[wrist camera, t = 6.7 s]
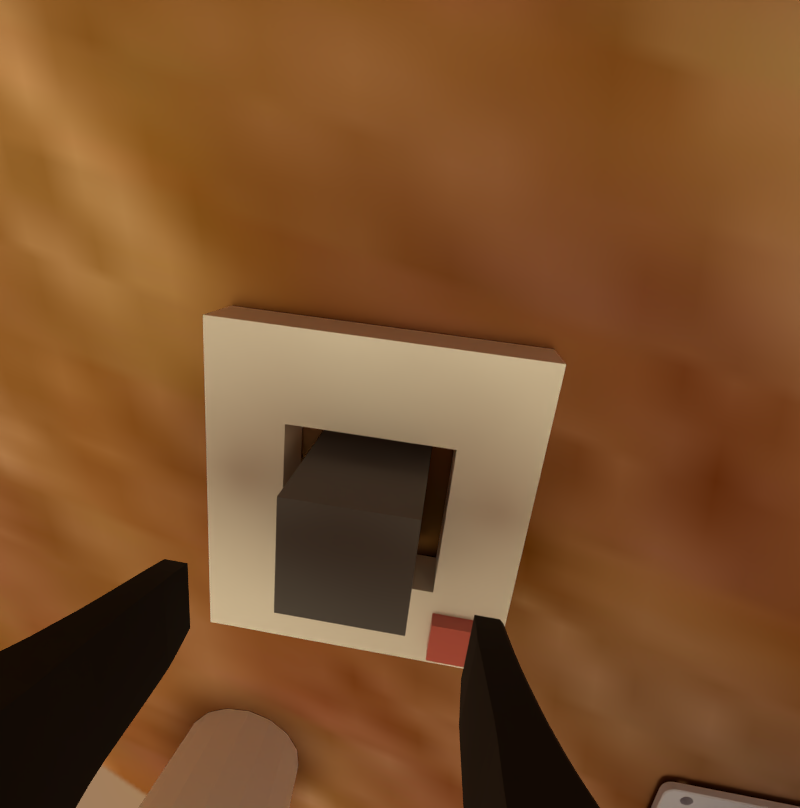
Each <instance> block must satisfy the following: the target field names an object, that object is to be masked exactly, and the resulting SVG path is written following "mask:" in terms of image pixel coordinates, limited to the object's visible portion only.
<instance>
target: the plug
mask: <svg viewBox="0 0 800 808" xmlns="http://www.w3.org/2000/svg"><path fill="white" fill-rule="evenodd" d="M431 451H432V446H427V445H421V444H414V443H408V442H401V441H394V440H388V439H381V438H375V437H368V436H362V435H355V434H348V433H342V432H335V431H329V430H324V431H323V432H322V434H321V435H320V437H319V438H318V439H317V441H316V442H315V444H314V445H313V446H312V448H311V449H310V451H309V452H308V453H307V455H306V456H305V458H304V459H303V461H302V462H301V463H300V465H299V466H298V468H297V469H296V470H295V472H294V473H293V475H292V476H291V478H290V479H289V480H288V482H287V483H286V485H285V486H284V487H283V489H282V490H281V492H280V493H279V494H278V496H277V509H276V549H275V588H274V613H279V614H284V615H290V616H296V617H301V618H307V619H312V620H318V621H323V622H329V623H335V624H340V625H346V626H351V627H357V628H362V629H368V630H374V631H379V632H385V633H390V634H396V635H402V636H405V633H406V626H407V619H408V612H409V605H410V598H411V591H412V584H413V577H414V570H415V563H416V556H417V549H418V542H419V535H420V528H421V521H422V514H423V507H424V500H425V493H426V486H427V479H428V472H429V465H430V458H431Z"/></svg>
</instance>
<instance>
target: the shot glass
mask: <svg viewBox="0 0 800 808" xmlns="http://www.w3.org/2000/svg"><path fill="white" fill-rule="evenodd" d="M297 770H298V756H297V749H296V748H295V746H294V744H293V743H292V741H291V739H290V738H289V736H288V734H287V733H285V732H284V731H283V730H282V729H281V728H279V727H278V726H277V725H276V724H274V723H273V722H272V721H271V720H269V719H266V718H264V717H262V716H259V715H257V714H255V713H252V712H250V711H243V710H235V709H223V710H218V711H213V712H208V713H207V714H206V715H204V716H203V717H202V718H200V719H199V720H197V721H196V722H195V723H194V725H193V726H192V728H191V729H190V731H189V732H188V734H187V735H186V737H185V738H184V740H183V741H182V743H181V744H180V746H179V747H178V749H177V750H176V752H175V753H174V755H173V756H172V758H171V759H170V761H169V762H168V764H167V765H166V767H165V768H164V770H163V772H162V773H161V775H160V776H159V778H158V779H157V781H156V782H155V784H154V785H153V787H152V788H151V790H150V791H149V793H148V794H147V796H146V797H145V799H144V800H143V802H142V803H141V805H140V806H139V808H289V806H290V802H291V797H292V793H293V788H294V783H295V779H296V774H297Z"/></svg>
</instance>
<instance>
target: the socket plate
mask: <svg viewBox="0 0 800 808" xmlns="http://www.w3.org/2000/svg"><path fill="white" fill-rule="evenodd" d="M203 340H204V380H205V419H206V458H207V498H208V537H209V577H210V616H211V622H214V623H220V624H225V625H231V626H236V627H241V628H247V629H252V630H258V631H263V632H268V633H274V634H279V635H285V636H290V637H295V638H301V639H306V640H312V641H317V642H322V643H328V644H333V645H339V646H344V647H349V648H355V649H360V650H366V651H371V652H376V653H382V654H387V655H393V656H398V657H403V658H409V659H414V660H419V661H425V662H430V663H436V664H441V665H446V666H452V667H457V668H464V663H465V658H466V653H467V649H468V644H469V639H470V634H471V629H472V624H473V619H474V615H479V616H484V617H490V618H496V619H500V620H501V621H502V623H503V624H504V626H505V623H506V619H507V615H508V611H509V606H510V602H511V598H512V594H513V589H514V585H515V581H516V577H517V572H518V568H519V564H520V560H521V555H522V551H523V547H524V543H525V538H526V534H527V530H528V525H529V521H530V517H531V513H532V508H533V504H534V500H535V496H536V491H537V487H538V483H539V479H540V474H541V470H542V466H543V462H544V457H545V453H546V449H547V445H548V440H549V436H550V432H551V427H552V423H553V419H554V415H555V410H556V406H557V402H558V398H559V393H560V389H561V385H562V381H563V376H564V372H565V368H566V363H565V362H564V361H563V360H562V358H561V357H560V356H559V354H558V353H557V352H556V351H555V349H550V348H543V347H535V346H528V345H520V344H513V343H505V342H498V341H491V340H483V339H476V338H468V337H461V336H453V335H446V334H439V333H431V332H424V331H416V330H409V329H401V328H394V327H387V326H379V325H372V324H364V323H357V322H349V321H342V320H334V319H327V318H320V317H312V316H305V315H297V314H290V313H282V312H275V311H268V310H260V309H253V308H245V307H238V306H229V307H226V308H223V309H219V310H216V311H213V312H210V313H207V314H204V315H203ZM303 427H309V428H316V429H322V430H329V431H335V432H342V433H348V434H355V435H362V436H368V437H375V438H381V439H388V440H394V441H401V442H408V443H414V444H421V445H427V446H434V447H440V448H447V449H454V451H453V457H452V463H451V469H450V475H449V481H448V487H447V494H446V500H445V506H444V512H443V518H442V524H441V530H440V536H439V542H438V549H437V555H436V558H435V557H429V556H423V555H418V554H417V556H416V563H415V570H414V577H413V584H412V591H411V598H410V605H409V612H408V619H407V626H406V633H405V636H402V635H396V634H390V633H385V632H379V631H374V630H368V629H362V628H357V627H351V626H346V625H340V624H335V623H329V622H323V621H318V620H312V619H307V618H301V617H296V616H290V615H284V614H279V613H274V588H275V549H276V509H277V496H278V494H279V493H280V492H281V490H282V489H283V487H284V486H285V485H286V483H287V482H288V480H289V479H290V478H291V476H292V475H293V473H294V472H295V470H296V469H297V468H298V466H299V465H300V463H301V450H302V428H303Z"/></svg>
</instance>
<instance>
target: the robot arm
mask: <svg viewBox="0 0 800 808" xmlns="http://www.w3.org/2000/svg"><path fill="white" fill-rule="evenodd" d="M189 629H190V613H189V589H188V566H187V563H183V562H177V561H171V560H166V559H164V560H162V561H160V562H159V563H157V564H155V565H153V566H152V567H150V568H148V569H147V570H145V571H143V572H142V573H140V574H138V575H137V576H135V577H133V578H132V579H130V580H128V581H127V582H125V583H123V584H122V585H120V586H118V587H117V588H115V589H113V590H112V591H110V592H108V593H107V594H105V595H103V596H102V597H100V598H98V599H96V600H95V601H93V602H91V603H90V604H88V605H86V606H85V607H83V608H81V609H79V610H78V611H76V612H74V613H72V614H70V615H69V616H67V617H65V618H63V619H61V620H59V621H58V622H56V623H54V624H52V625H50V626H48V627H47V628H45V629H43V630H41V631H39V632H37V633H35V634H34V635H32V636H30V637H28V638H26V639H24V640H22V641H20V642H18V643H16V644H14V645H12V646H10V647H8V648H6V649H4V650H2V651H0V808H76V806H77V804H78V803H79V801H80V799H81V797H82V796H83V794H84V792H85V791H86V789H87V787H88V785H89V784H90V782H91V781H92V779H93V778H94V776H95V774H96V773H97V771H98V770H99V768H100V767H101V765H102V764H103V762H104V761H105V759H106V758H107V756H108V755H109V753H110V752H111V751H112V749H113V748H114V746H115V745H116V743H117V742H118V740H119V739H120V738H121V736H122V735H123V733H124V732H125V730H126V729H127V728H128V726H129V725H130V723H131V722H132V720H133V719H134V718H135V716H136V715H137V713H138V712H139V710H140V709H141V707H142V706H143V705H144V703H145V702H146V700H147V699H148V697H149V696H150V694H151V693H152V692H153V690H154V689H155V687H156V686H157V684H158V683H159V681H160V680H161V678H162V677H163V675H164V674H165V672H166V671H167V670H168V668H169V666H170V664H171V663H172V661H173V659H174V657H175V655H176V654H177V652H178V650H179V648H180V646H181V644H182V642H183V640H184V638H185V636H186V635H187V633H188V631H189ZM459 730H460V750H461V769H462V787H463V806H464V808H600V807H599V806H598V804H597V803H596V801H595V800H594V798H593V797H592V795H591V794H590V792H589V791H588V789H587V788H586V786H585V785H584V783H583V782H582V780H581V778H580V777H579V775H578V774H577V772H576V771H575V769H574V767H573V766H572V764H571V762H570V761H569V759H568V757H567V756H566V754H565V752H564V751H563V749H562V747H561V745H560V744H559V742H558V740H557V738H556V736H555V735H554V733H553V731H552V729H551V727H550V726H549V724H548V722H547V720H546V718H545V716H544V714H543V712H542V710H541V709H540V707H539V705H538V702H537V700H536V698H535V696H534V694H533V692H532V690H531V688H530V686H529V684H528V682H527V680H526V678H525V676H524V673H523V671H522V669H521V667H520V664H519V662H518V660H517V657H516V655H515V653H514V650H513V648H512V645H511V643H510V640H509V638H508V635H507V632H506V629H505V626H504V624H503V623H502V621H501V620H500V619H496V618H490V617H484V616H479V615H474V619H473V624H472V629H471V634H470V639H469V644H468V649H467V653H466V658H465V663H464V668H463V673H462V678H461V695H460V719H459ZM651 808H800V806H795V805H789V804H784V803H779V802H774V801H769V800H764V799H759V798H754V797H749V796H744V795H738V794H733V793H728V792H723V791H718V790H713V789H708V788H703V787H698V786H693V785H688V784H682V783H677V782H665V783H663V784H662V785H661V786H660V788H659V790H658V792H657V795H656V797H655V799H654V802H653V804H652V806H651Z"/></svg>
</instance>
